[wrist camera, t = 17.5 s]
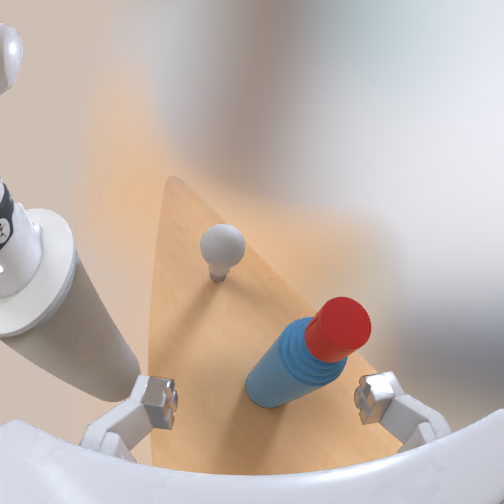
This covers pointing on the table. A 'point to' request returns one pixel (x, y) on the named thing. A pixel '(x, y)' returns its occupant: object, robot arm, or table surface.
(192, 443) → the table surface
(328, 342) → the cap
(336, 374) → the bottle
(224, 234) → the lightbulb
